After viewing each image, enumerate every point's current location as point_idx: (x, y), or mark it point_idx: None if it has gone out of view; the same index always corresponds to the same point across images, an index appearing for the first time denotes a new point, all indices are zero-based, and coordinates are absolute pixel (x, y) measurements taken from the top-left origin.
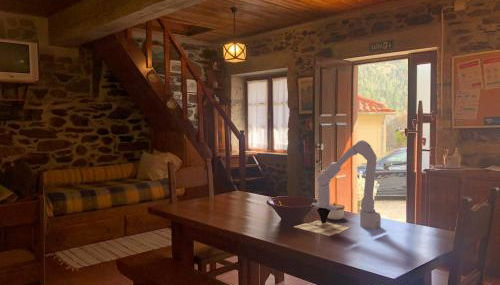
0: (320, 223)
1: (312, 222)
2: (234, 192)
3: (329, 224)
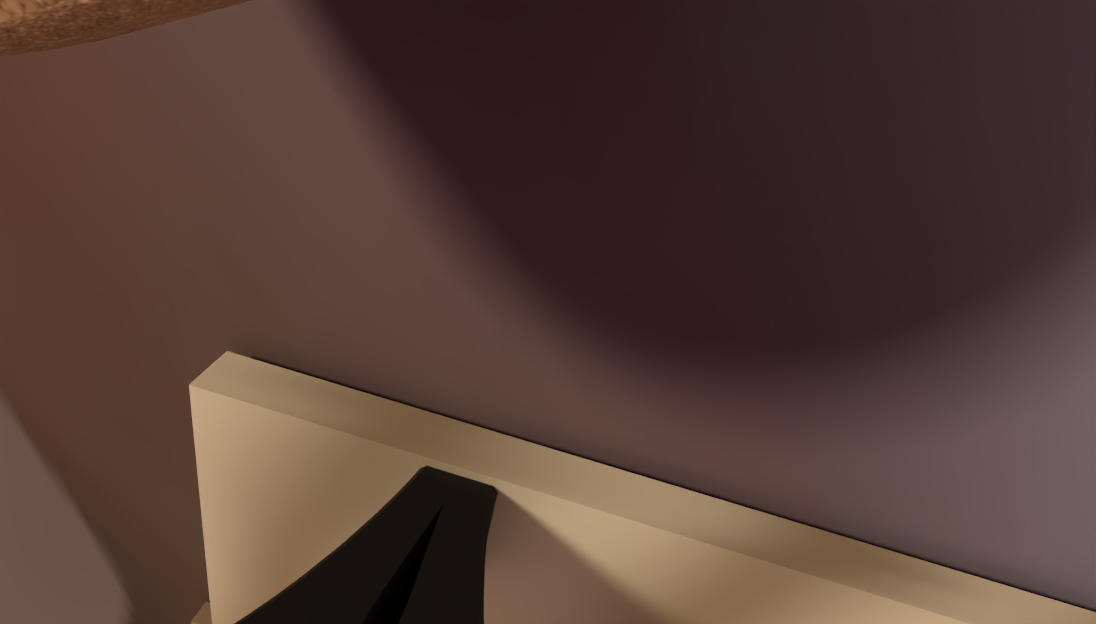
0: None
1: (228, 571)
2: None
3: (670, 621)
